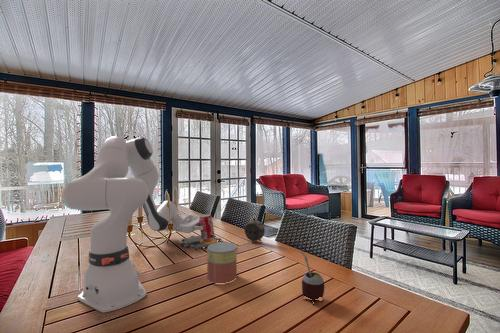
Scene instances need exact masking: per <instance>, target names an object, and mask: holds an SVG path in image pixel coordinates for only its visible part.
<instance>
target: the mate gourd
mask: <svg viewBox="0 0 500 333" xmlns="http://www.w3.org/2000/svg"><path fill="white" fill-rule="evenodd" d="M299 252H300V253H301V254H302V255H303V257H304V261H305V263H306V266H307V270H308V272H306V273H305V274H304V275H303V276H302V279H301V291H302V292H301V293H302V295H303V296H302V297H304V296H306V297H308V298H310V299H312V300H313V302H314V300H315V299H318V298H319V297H322V298H324V297H323V296H324V294H325V280H324V278H323V276H322V275H321V274H320V273H318V272H314V271H313V272H311V267H310V264H309V262H308V257H307V256H306V254H305V253H304V252H303V251H302V249H301V248H300V249H299Z"/></svg>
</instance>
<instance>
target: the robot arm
mask: <svg viewBox="0 0 500 333" xmlns="http://www.w3.org/2000/svg"><path fill="white" fill-rule="evenodd" d="M153 151H154V150H153V146H152V144H151V143H150V141H149V140H148V139H147V138H145V137H143V136H141V137H140V136H139V137H136V138H134V139H130V140H127V141H126V140H125V139H124V138H122V137H120V136H110V137H108V138H107V139H105V141H103V143H102V145H101V147H100V149H99V152H98V155H97V159H96V162H95V165H94V166H93V168H92V169H91V170H89V171H88V172H87V173H86V174H84V175H82V176H80V177H79V178H76V179H72V180H70V181H69V182H68V183H67V184H66V185H65V187H64V189H63V190H62V191H63V192H62V200H63V201H64V203H65V205H66V207H67V208H69V209H70V210H76V211H84V212H85V211H101V210H102V211H103V210H105V211H106V210H110V214H109V216H107V217H105V218H103V219H101V220H99V221H97V222H96V223H95V224H93V226H91V229H90V231H89V240H90V242H89V245H90V248H89V251H88V256H87V257H88V263H89V264H88V266H87V268H86V269H85V271H83V272H84V273H83V283H82V292H81V293H80V294H78V295H77V300H78V301H80V302H81V303H83V304H85V305H87V306H89V307H91V308H93V309H94V310H96V311H98V312H100V313H109V312H113V311H117V310H120V309H122V308H125V307H127V306H130V305H132V304H134V303H136V302H138V301H140V300H142V299H143V298H144V297H146V296H147V291H146V289H145V288H144V286H143V285H142V283H141V281H140V280H139V278H140V277H141V270H139V269H138V270H136V269H135V267H136V265H135V264H134V263H132V261H131V259H130V250H129V246H128V245H127V244H128V243H127V241H128V240H127V239H128V237H127V235H128V227H129V222H130V221H131V220H130V219H131V218H132V216H133V214H134V213H135V212H136V211H137V210H138V209H139V208H140V207H142V209H143V211H144V213H145V214H144V215H145V216H146V221H147V224H148V226H149V228H150V229H151V230H153V231H155V232H162V231H169V229H168V226H167V225H168V223H169V220H170V219H171V221H172V224H173V230H172V231H171V232H177V233H179V232H180V233H185V234H191V233H193V232H195V231H200V230H203V226H200V223H199V218H200V217H199V216H195V215H194V214H193V215H179V209H178V205H177V203H176V202H174V201H172V200H169V201H170V218H169V208H168V207H167V203H168V200H164V201H163V202H162V203H161V204H160V205H159V206H158V207H157V206H156V204H155V203H156V202H155V201H154V191H155V188H156V186H157V184H158V182H159V179H160V178H159V177H160V174H159V171H158V169H157V167H156V165H155V163H154V162H153V160H152V159H151V157H152V156H153ZM129 169H130V170H131V173H132V175H133V177H129V176H127V175H128V172H129ZM126 176H127V177H126ZM167 213H168V214H167ZM169 232H170V231H169Z"/></svg>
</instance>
